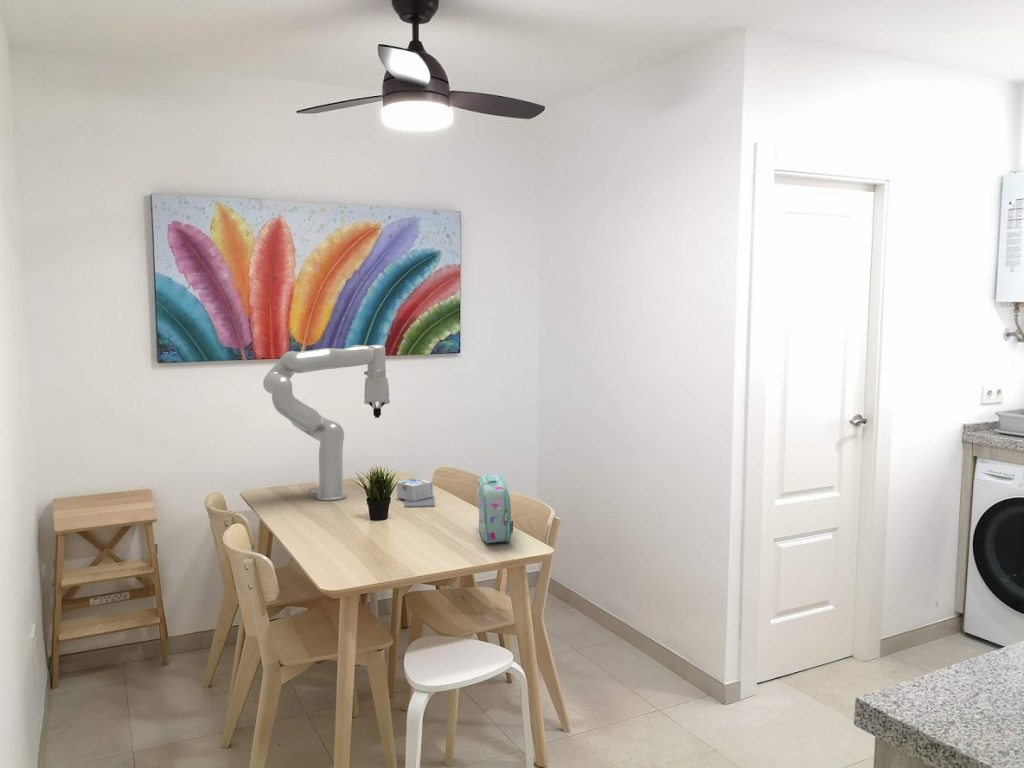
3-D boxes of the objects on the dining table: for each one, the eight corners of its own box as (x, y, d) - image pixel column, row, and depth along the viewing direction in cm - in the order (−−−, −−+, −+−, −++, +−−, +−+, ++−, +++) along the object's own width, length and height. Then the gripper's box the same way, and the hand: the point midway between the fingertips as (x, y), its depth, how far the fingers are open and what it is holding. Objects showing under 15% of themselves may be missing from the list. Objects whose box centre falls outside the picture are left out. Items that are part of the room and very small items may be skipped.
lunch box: (514, 547, 260) (515, 484, 258) (483, 548, 259) (484, 485, 256) (504, 524, 286) (504, 467, 284) (476, 525, 285) (476, 467, 283)
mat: (404, 507, 308) (404, 506, 308) (404, 497, 324) (404, 495, 324) (435, 506, 310) (435, 505, 310) (433, 496, 326) (433, 495, 325)
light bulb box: (396, 481, 321) (416, 477, 328) (396, 497, 321) (417, 492, 329) (412, 486, 313) (433, 481, 321) (412, 502, 314) (433, 497, 322)
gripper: (357, 375, 325) (358, 419, 327) (393, 375, 326) (394, 418, 328) (359, 373, 332) (360, 416, 334) (395, 373, 333) (395, 416, 335)
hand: (377, 417), depth 331 cm, fingers closed
